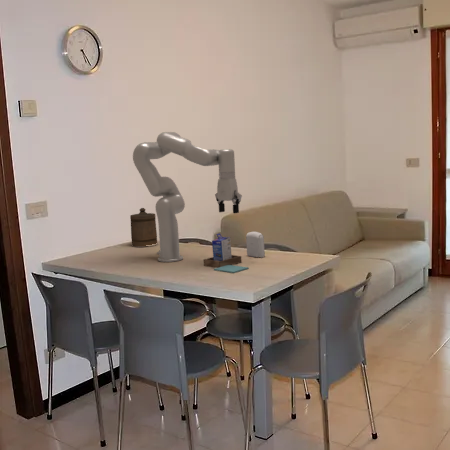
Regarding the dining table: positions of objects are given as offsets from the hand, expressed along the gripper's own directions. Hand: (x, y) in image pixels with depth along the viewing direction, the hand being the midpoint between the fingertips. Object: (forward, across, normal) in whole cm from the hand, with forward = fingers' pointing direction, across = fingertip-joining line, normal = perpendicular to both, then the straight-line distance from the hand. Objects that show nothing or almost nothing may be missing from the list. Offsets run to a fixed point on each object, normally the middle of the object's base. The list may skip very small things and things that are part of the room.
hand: (228, 212), depth 261 cm
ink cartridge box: (+24, 0, -5) cm, 25 cm away
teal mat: (+24, +12, -11) cm, 29 cm away
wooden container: (+24, -80, +6) cm, 84 cm away
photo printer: (+24, 0, +17) cm, 29 cm away
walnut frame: (+24, 0, -5) cm, 24 cm away
